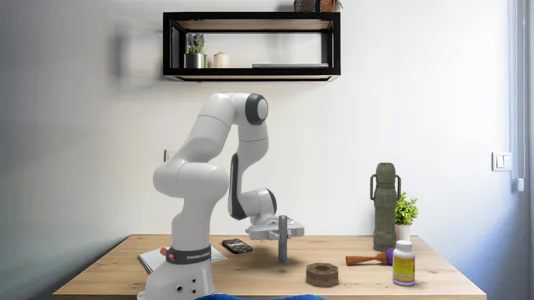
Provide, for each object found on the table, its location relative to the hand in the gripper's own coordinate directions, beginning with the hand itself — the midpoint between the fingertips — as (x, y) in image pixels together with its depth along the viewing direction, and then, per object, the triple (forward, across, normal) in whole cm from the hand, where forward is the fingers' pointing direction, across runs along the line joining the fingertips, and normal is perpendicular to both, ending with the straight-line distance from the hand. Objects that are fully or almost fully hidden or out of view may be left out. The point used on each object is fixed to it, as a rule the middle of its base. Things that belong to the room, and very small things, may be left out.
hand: (283, 237), depth 130 cm
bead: (+11, +9, +12) cm, 19 cm away
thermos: (-10, +48, +12) cm, 50 cm away
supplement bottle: (+20, +33, +12) cm, 41 cm away
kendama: (+3, +34, +12) cm, 36 cm away
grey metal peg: (-1, 0, +9) cm, 9 cm away
